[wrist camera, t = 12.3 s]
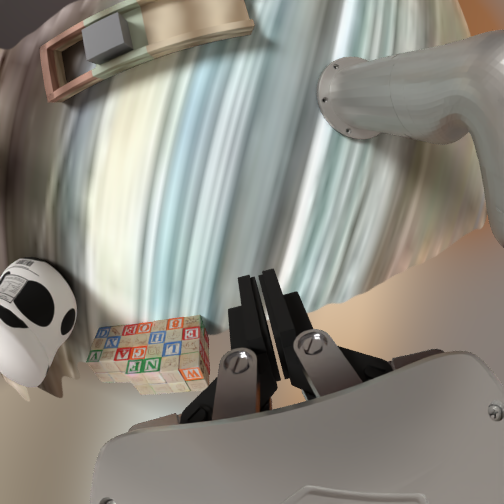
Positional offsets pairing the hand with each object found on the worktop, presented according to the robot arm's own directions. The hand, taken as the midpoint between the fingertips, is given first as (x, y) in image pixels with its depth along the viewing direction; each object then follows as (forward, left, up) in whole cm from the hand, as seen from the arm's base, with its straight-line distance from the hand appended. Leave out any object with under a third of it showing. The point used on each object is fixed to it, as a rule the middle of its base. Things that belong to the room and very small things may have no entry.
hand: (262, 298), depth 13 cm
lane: (+7, -24, -27) cm, 37 cm away
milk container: (+40, +9, -27) cm, 49 cm away
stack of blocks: (+22, +24, -28) cm, 43 cm away
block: (+11, -24, -25) cm, 36 cm away
